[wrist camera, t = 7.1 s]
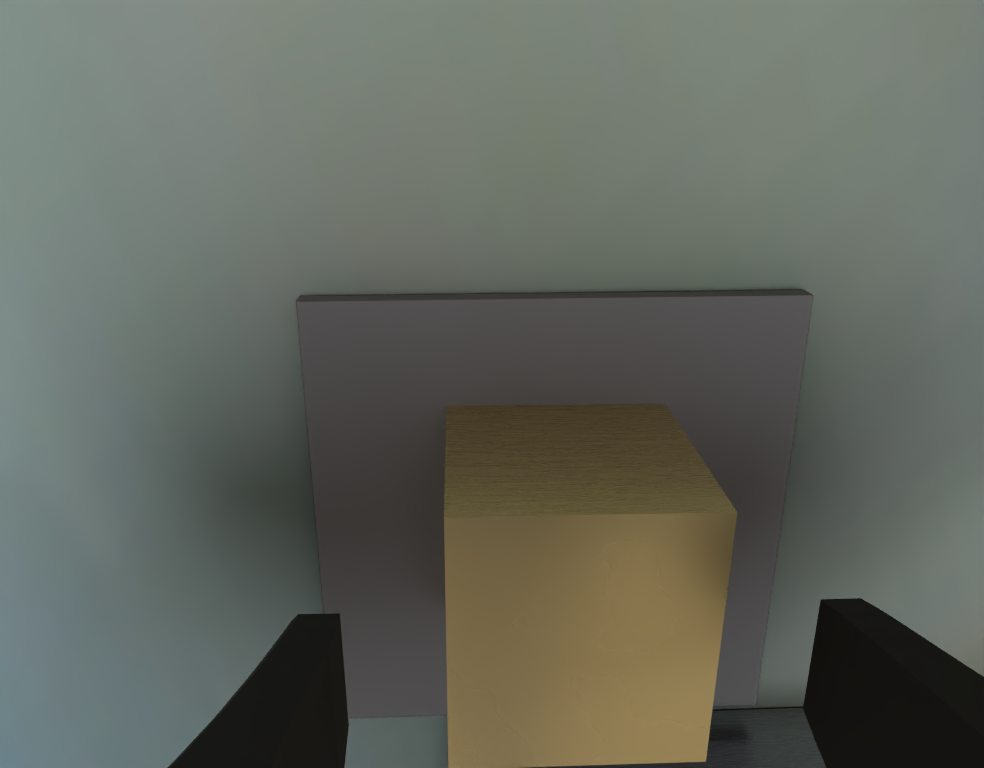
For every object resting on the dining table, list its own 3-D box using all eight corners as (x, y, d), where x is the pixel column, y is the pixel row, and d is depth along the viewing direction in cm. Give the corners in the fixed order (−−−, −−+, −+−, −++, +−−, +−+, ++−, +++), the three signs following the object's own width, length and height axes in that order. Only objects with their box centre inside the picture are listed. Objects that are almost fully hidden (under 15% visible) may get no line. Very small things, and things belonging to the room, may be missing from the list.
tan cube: (665, 403, 15) (737, 512, 11) (647, 605, 16) (706, 762, 13) (446, 406, 15) (443, 517, 11) (449, 610, 16) (448, 769, 12)
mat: (749, 691, 18) (755, 704, 17) (335, 705, 17) (333, 718, 17) (804, 289, 15) (813, 295, 14) (300, 296, 14) (296, 301, 14)
